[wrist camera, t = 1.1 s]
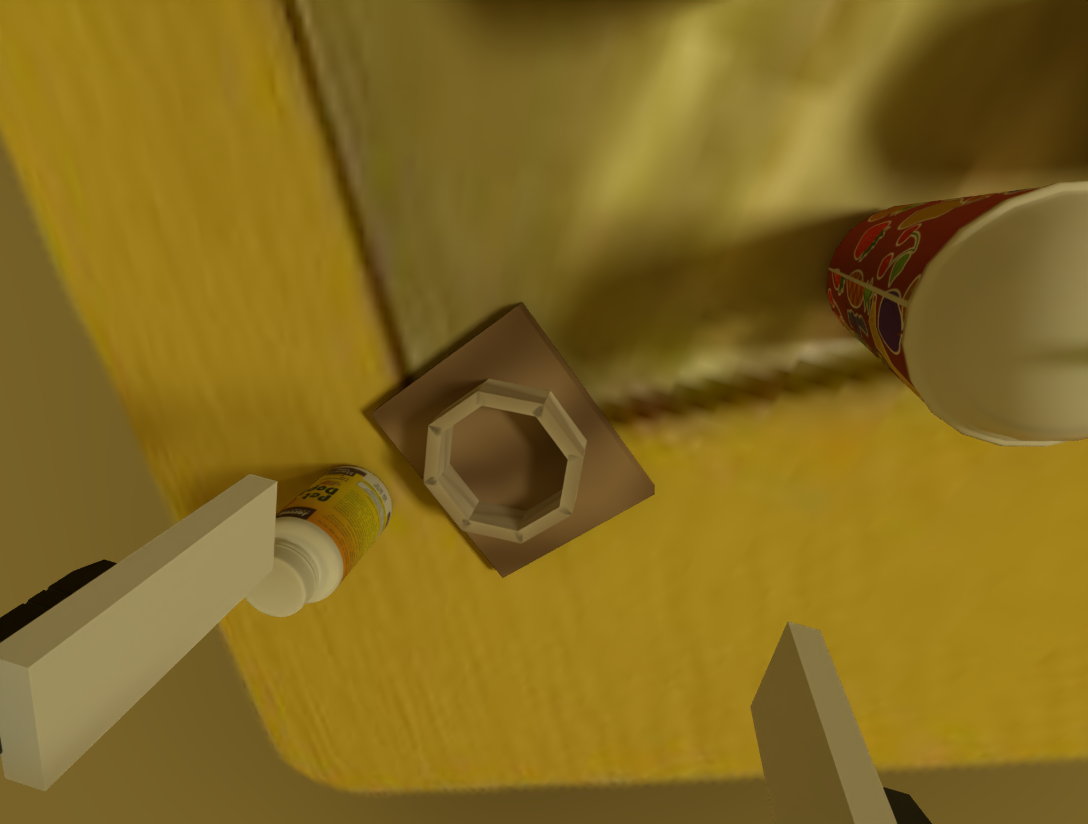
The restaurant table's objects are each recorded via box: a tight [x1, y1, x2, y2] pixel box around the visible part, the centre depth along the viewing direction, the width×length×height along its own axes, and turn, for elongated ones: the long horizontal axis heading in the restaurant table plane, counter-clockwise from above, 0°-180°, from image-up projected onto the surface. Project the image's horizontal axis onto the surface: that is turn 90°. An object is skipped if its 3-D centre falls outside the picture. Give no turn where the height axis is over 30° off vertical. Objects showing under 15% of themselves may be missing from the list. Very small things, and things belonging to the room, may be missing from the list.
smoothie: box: [827, 181, 1088, 447], centre depth 22 cm, size 8×8×20 cm
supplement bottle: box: [245, 466, 392, 617], centre depth 37 cm, size 6×6×10 cm
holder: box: [370, 302, 655, 578], centre depth 37 cm, size 14×12×4 cm
